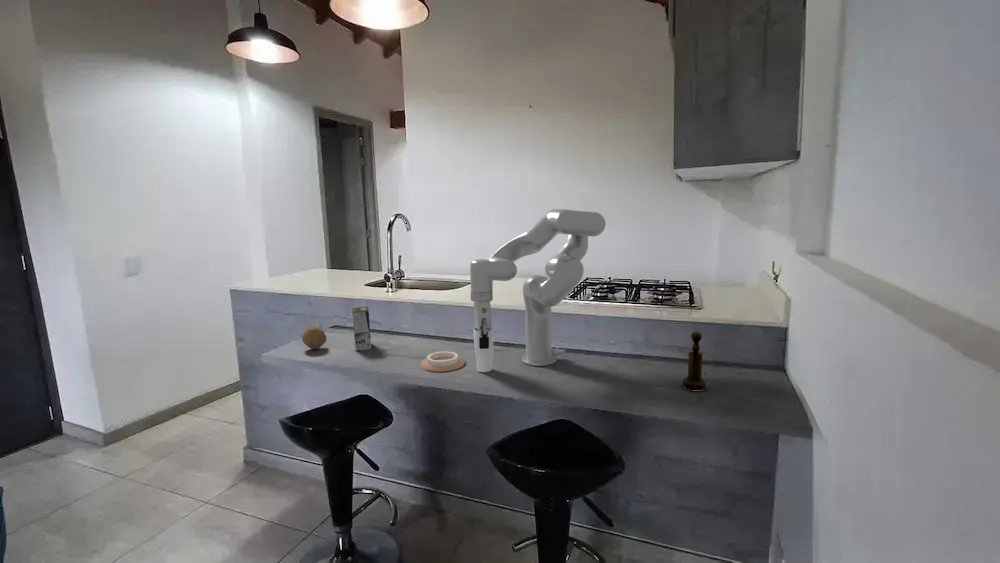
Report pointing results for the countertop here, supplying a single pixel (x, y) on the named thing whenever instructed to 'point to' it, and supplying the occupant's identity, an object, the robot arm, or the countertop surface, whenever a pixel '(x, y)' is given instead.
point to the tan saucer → (442, 362)
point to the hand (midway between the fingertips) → (482, 344)
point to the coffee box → (361, 328)
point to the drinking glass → (483, 352)
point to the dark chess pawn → (695, 366)
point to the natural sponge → (314, 337)
